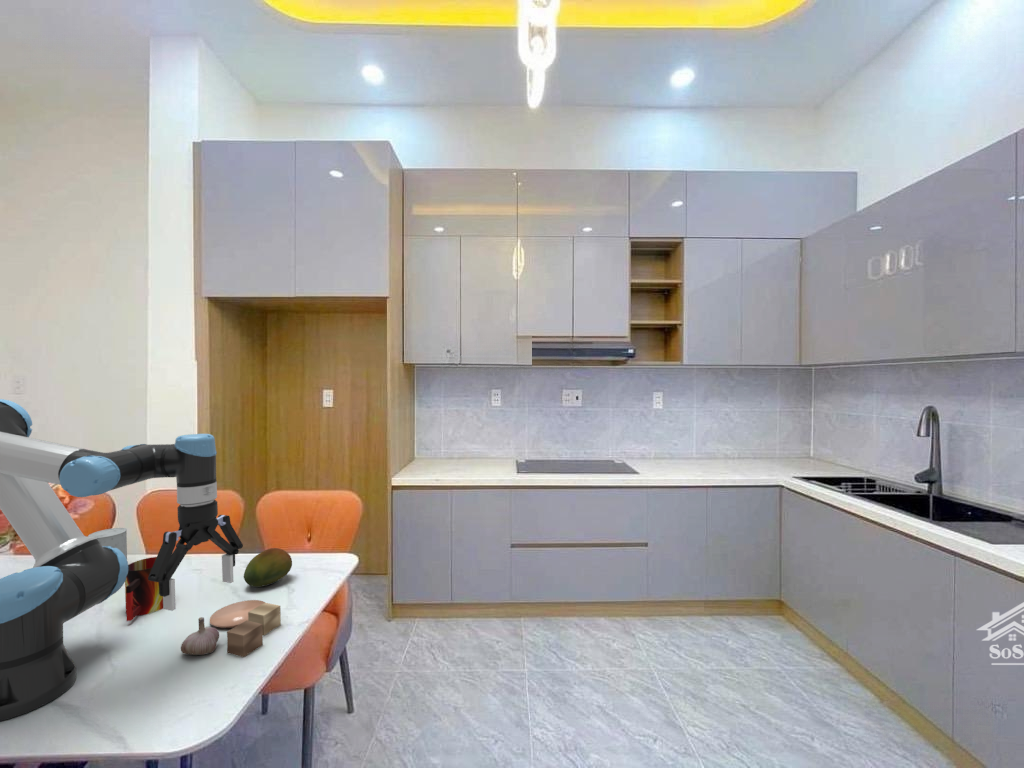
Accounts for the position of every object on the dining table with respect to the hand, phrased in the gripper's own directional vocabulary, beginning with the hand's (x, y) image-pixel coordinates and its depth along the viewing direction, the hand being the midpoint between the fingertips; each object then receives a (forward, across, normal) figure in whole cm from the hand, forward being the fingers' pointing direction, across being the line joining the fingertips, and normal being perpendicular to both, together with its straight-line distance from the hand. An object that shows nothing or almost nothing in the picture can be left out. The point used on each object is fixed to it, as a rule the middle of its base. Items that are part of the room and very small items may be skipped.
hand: (200, 594), depth 104 cm
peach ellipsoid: (+13, +14, +5) cm, 20 cm away
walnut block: (+13, +4, -9) cm, 16 cm away
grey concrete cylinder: (+13, +22, +73) cm, 78 cm away
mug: (+13, +9, +32) cm, 36 cm away
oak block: (+13, +12, -6) cm, 19 cm away
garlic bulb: (+13, 0, 0) cm, 13 cm away
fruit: (+13, +31, +14) cm, 37 cm away
